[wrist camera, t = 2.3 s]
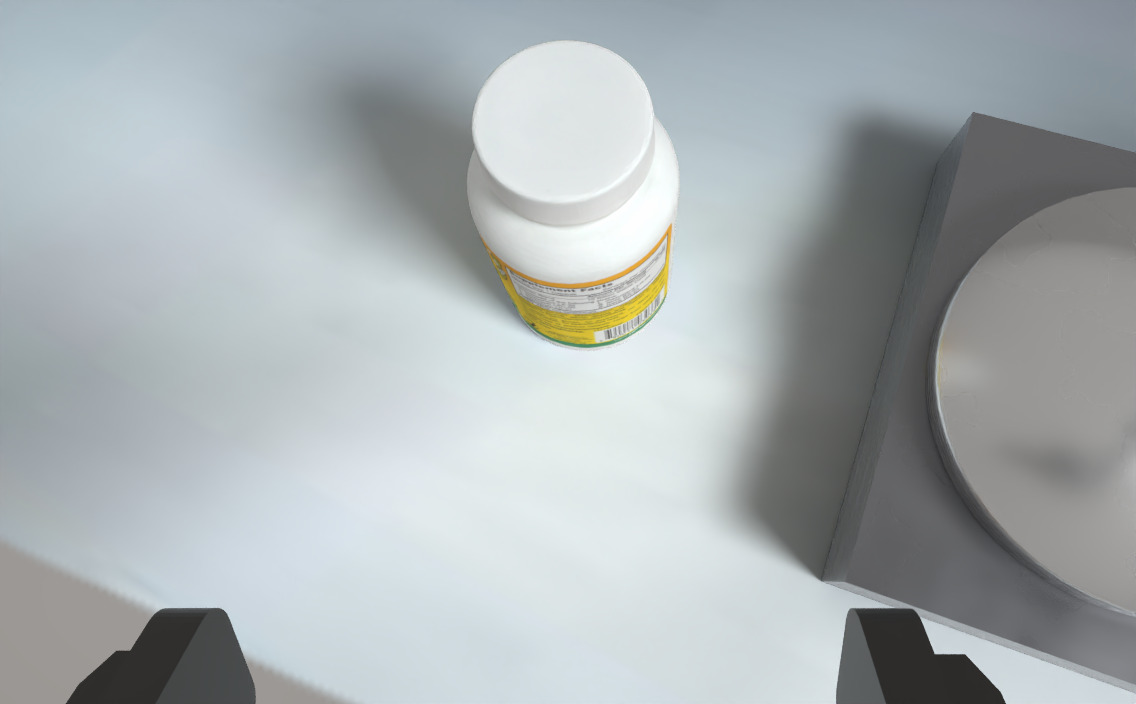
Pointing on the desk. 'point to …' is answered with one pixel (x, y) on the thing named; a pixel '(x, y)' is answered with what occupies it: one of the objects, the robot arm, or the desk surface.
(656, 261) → the supplement bottle
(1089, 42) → the desk surface
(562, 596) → the desk surface
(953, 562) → the scale
